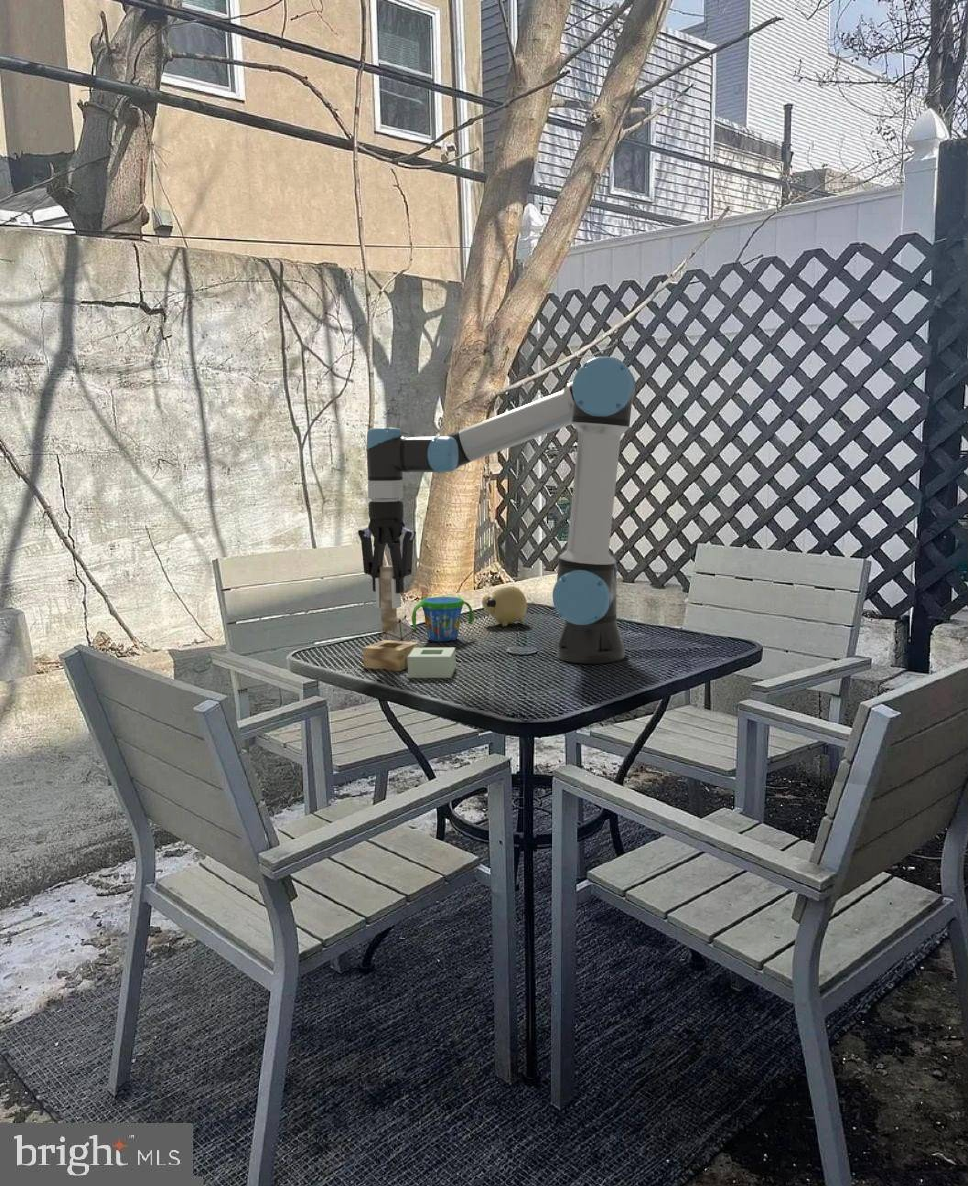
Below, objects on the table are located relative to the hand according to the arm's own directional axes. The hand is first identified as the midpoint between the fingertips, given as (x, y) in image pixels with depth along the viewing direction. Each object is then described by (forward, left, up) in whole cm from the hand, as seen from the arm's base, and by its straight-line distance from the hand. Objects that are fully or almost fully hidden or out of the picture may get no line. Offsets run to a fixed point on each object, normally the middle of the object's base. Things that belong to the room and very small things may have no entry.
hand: (388, 606), depth 203 cm
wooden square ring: (0, 0, -13) cm, 13 cm away
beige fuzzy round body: (-5, -52, -13) cm, 54 cm away
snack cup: (+2, -29, -13) cm, 32 cm away
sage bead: (-12, +3, -13) cm, 18 cm away
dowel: (0, 0, -5) cm, 5 cm away
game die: (+7, -15, -13) cm, 21 cm away
